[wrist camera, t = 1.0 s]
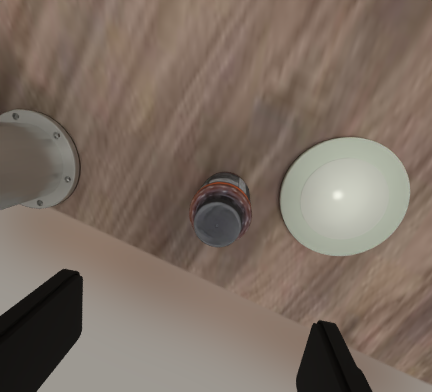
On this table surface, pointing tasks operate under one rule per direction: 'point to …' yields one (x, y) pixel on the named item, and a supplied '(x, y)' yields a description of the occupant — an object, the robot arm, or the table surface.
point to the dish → (344, 196)
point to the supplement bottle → (221, 210)
